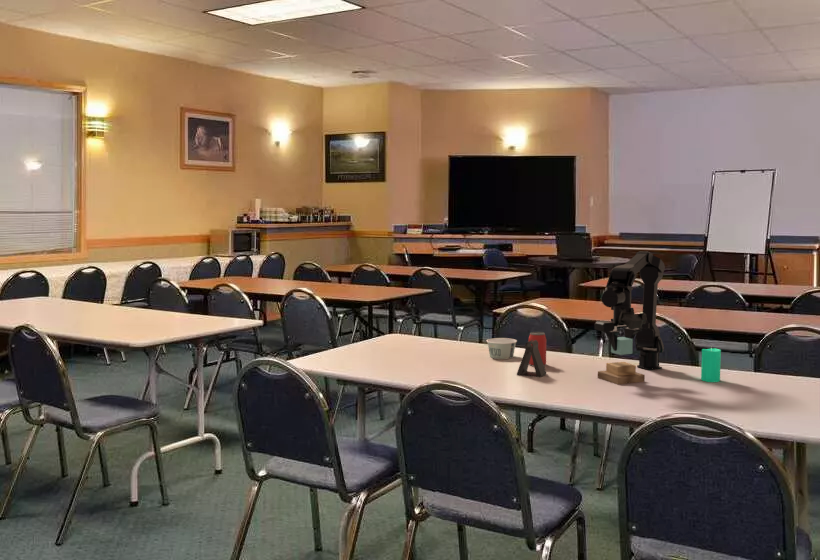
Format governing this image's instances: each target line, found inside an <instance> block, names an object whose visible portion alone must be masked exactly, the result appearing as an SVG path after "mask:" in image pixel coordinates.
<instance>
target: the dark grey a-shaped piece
mask: <svg viewBox="0 0 820 560" xmlns="http://www.w3.org/2000/svg"><path fill="white" fill-rule="evenodd" d="M531 344H532V345H531ZM531 355H532V360H533V364H534V366H533V368H534V371H530V370H529V371H528V368H529V366H530V365H529V362H530V358H531ZM546 374H547V371H546V368H545V365H544V364H543V361H542V358H541V355H540V352H539V349H538V341H537V340H534V341H533V340H531V341H529V340H528V341H527V342H526V343H525V345H524V354H523V356H522V358H521V361H520V364H519V366H518V369H517V372H516V376H522V377H534V378H542V377H543V376H545V375H546Z"/></svg>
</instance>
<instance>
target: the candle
mask: <svg viewBox="0 0 820 560" xmlns="http://www.w3.org/2000/svg"><path fill="white" fill-rule="evenodd" d="M721 353H722V349H718V348H716V347H715V348H712V345H710V348H707V349H706V348H702V349H701V367H700V369H701V370H700V381H703V382H706V383H718V382H721V364H722V363H721V362H722V361H721V360H722V359H721V357H722V354H721Z"/></svg>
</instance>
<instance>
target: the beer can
mask: <svg viewBox="0 0 820 560" xmlns="http://www.w3.org/2000/svg"><path fill="white" fill-rule="evenodd" d="M531 340H533V341H534V340H537V341H538V349H539V352H540V355H541V358H542V361H543V364H544V366H545V365H546V364H547V337H546V333H545V332H543V331H532V332H529V336H528V342H529V341H531ZM531 345H532V344H531ZM528 366H533V367H534V364H533V360H532V355H531V358H530V362H529V365H528Z"/></svg>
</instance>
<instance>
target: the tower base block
mask: <svg viewBox="0 0 820 560" xmlns="http://www.w3.org/2000/svg"><path fill="white" fill-rule="evenodd" d="M597 379H599V380H602V381H605V382H607V383H611V384H615V385H619V386H620V385H627V384H634V383H635V384H636V383H644V382H645V374H643V373H641V372H637V371H636V374H635V375H622V376H616V375H614V374H611V373H608V372H606V370H599V371H597Z"/></svg>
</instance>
